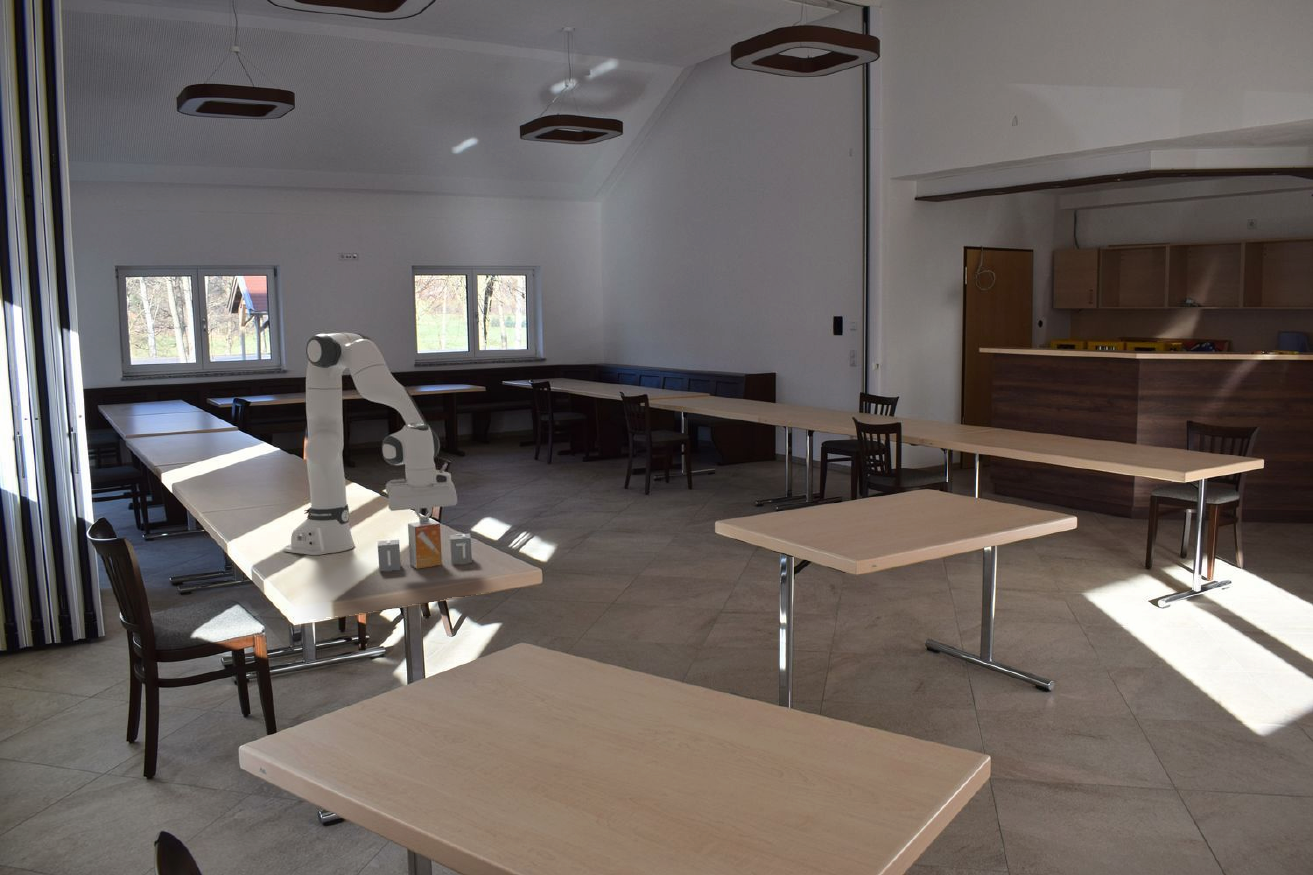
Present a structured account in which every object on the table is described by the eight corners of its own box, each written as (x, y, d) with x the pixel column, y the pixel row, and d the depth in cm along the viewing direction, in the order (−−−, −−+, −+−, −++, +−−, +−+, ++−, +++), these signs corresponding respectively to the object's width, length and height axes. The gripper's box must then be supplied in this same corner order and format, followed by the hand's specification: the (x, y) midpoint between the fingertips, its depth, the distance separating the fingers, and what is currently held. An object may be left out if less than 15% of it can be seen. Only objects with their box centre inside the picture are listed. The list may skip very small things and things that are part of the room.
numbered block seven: (451, 565, 293) (450, 538, 292) (451, 560, 299) (449, 534, 298) (472, 563, 295) (470, 537, 294) (471, 558, 301) (469, 532, 300)
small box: (416, 569, 290) (414, 526, 288) (409, 565, 295) (407, 523, 293) (442, 564, 294) (440, 522, 292) (435, 560, 299) (432, 519, 298)
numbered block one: (379, 572, 288) (377, 544, 287) (380, 566, 294) (378, 540, 293) (400, 570, 289) (398, 543, 288) (400, 565, 295) (399, 538, 294)
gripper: (384, 481, 286) (388, 527, 287) (455, 476, 290) (458, 521, 292) (385, 478, 292) (389, 523, 293) (454, 472, 296) (458, 517, 298)
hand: (424, 522), depth 293 cm, fingers closed
